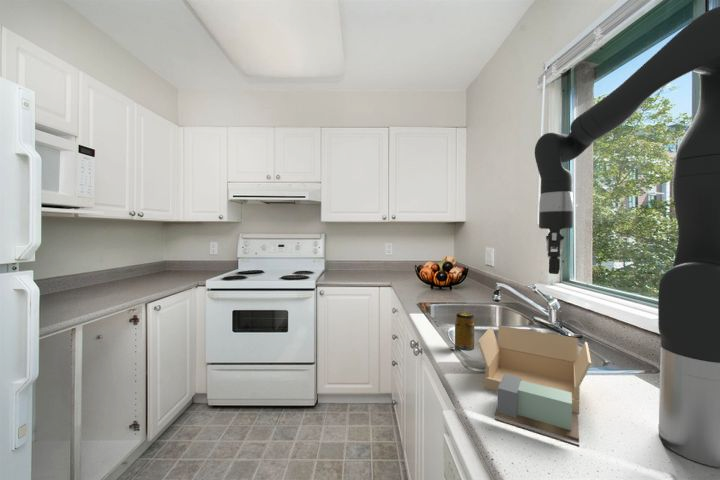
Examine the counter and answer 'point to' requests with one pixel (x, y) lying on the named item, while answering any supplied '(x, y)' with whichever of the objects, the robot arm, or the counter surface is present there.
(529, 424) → the board
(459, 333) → the condiment
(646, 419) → the counter surface
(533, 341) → the carton
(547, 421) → the box
